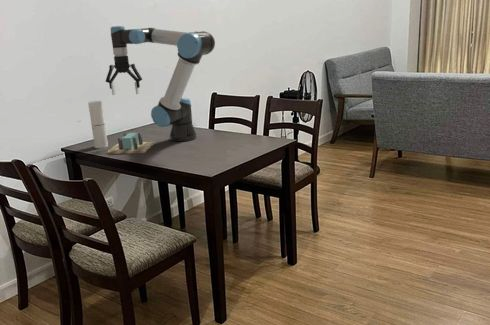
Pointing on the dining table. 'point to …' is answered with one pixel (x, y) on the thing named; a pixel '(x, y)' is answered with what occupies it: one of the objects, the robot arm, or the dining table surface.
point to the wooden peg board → (138, 148)
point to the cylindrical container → (98, 124)
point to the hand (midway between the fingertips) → (125, 94)
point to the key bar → (129, 140)
